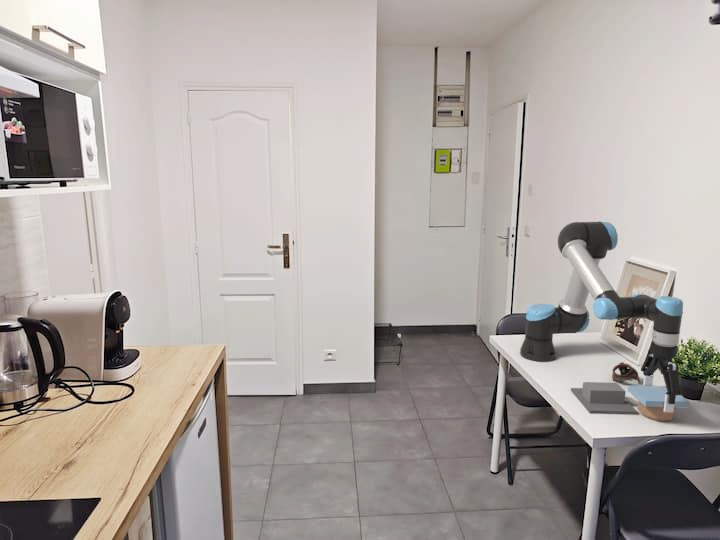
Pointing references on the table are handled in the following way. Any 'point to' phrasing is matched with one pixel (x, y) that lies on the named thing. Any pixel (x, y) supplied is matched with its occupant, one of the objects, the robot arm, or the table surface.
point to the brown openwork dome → (625, 373)
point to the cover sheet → (655, 396)
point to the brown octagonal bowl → (655, 413)
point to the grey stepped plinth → (603, 398)
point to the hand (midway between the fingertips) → (657, 402)
